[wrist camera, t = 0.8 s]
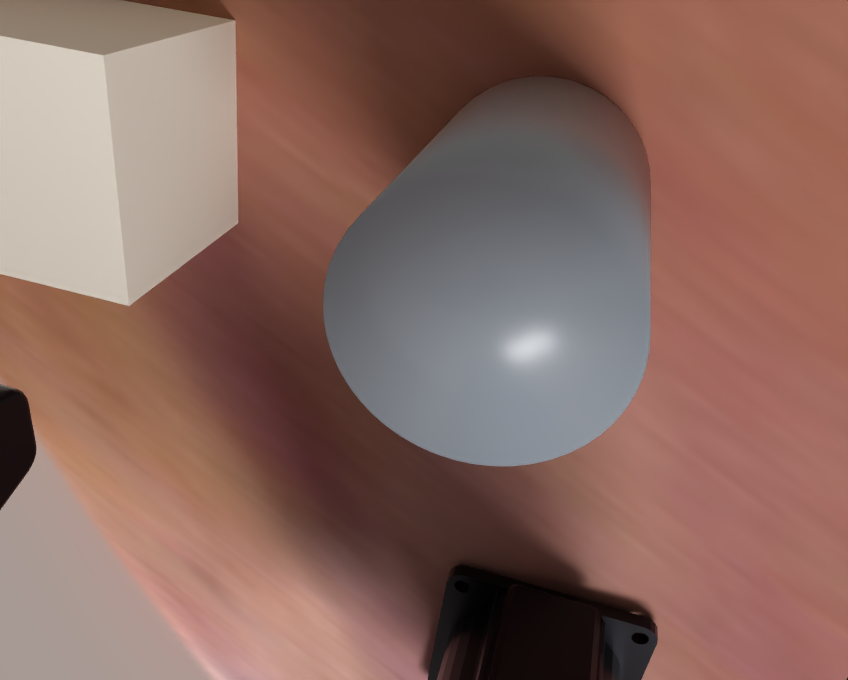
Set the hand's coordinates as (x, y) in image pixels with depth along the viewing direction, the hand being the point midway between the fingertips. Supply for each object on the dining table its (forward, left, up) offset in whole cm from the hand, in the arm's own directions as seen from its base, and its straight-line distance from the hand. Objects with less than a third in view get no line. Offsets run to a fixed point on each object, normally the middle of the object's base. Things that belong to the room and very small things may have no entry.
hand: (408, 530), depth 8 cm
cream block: (0, +10, -11) cm, 15 cm away
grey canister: (0, 0, -11) cm, 11 cm away
